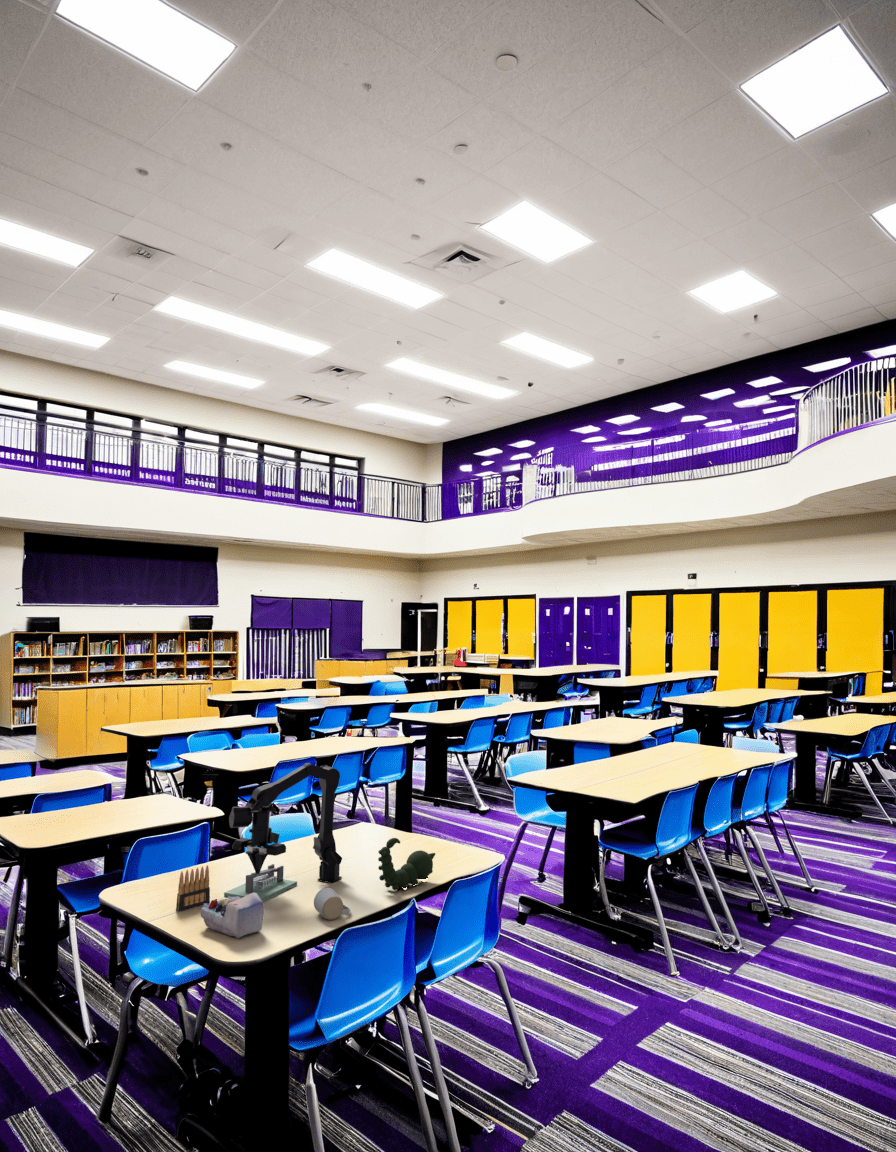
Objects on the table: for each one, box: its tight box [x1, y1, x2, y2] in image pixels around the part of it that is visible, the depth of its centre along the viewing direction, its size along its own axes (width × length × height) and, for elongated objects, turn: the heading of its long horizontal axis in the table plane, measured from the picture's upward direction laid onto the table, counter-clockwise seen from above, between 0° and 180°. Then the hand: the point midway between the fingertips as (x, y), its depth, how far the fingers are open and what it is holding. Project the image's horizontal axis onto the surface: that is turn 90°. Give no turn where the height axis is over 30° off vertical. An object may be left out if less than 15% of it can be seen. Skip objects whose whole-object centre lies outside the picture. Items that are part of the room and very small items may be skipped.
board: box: [223, 878, 298, 903], centre depth 245 cm, size 15×20×1 cm
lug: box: [245, 874, 256, 893], centre depth 240 cm, size 2×2×5 cm
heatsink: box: [253, 874, 277, 892], centre depth 245 cm, size 7×8×3 cm
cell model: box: [200, 893, 265, 939], centre depth 211 cm, size 13×11×20 cm
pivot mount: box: [267, 863, 284, 883], centre depth 252 cm, size 5×3×5 cm, turn 66°
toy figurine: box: [378, 837, 436, 891], centre depth 251 cm, size 9×19×25 cm
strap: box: [250, 867, 277, 877], centre depth 247 cm, size 12×3×1 cm, turn 155°
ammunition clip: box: [175, 864, 211, 912], centre depth 229 cm, size 11×2×12 cm, turn 138°
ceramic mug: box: [313, 887, 351, 921], centre depth 222 cm, size 11×8×8 cm
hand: (257, 872), depth 243 cm, fingers closed, pressing on strap
